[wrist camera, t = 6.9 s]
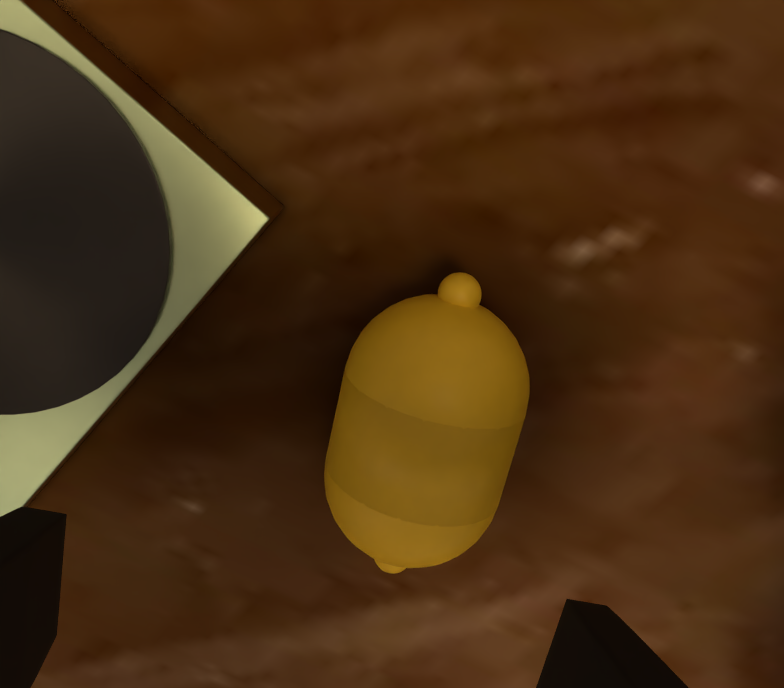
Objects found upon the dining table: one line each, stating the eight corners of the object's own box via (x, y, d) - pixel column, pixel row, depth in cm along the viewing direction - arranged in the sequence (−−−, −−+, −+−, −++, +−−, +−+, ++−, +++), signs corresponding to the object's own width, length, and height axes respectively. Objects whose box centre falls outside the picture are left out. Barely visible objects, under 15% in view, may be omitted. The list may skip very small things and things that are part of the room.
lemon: (460, 536, 20) (482, 644, 16) (312, 508, 20) (295, 612, 15) (536, 273, 18) (585, 319, 13) (370, 237, 17) (368, 272, 13)
